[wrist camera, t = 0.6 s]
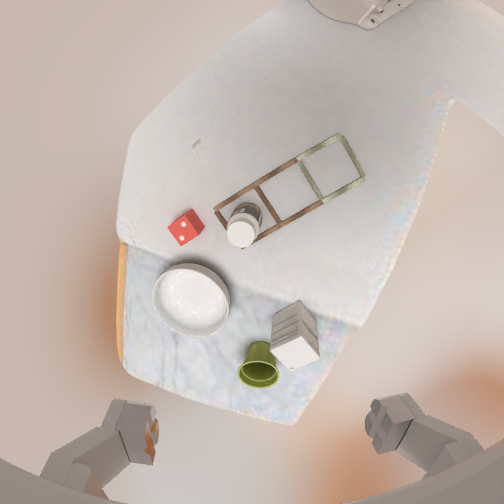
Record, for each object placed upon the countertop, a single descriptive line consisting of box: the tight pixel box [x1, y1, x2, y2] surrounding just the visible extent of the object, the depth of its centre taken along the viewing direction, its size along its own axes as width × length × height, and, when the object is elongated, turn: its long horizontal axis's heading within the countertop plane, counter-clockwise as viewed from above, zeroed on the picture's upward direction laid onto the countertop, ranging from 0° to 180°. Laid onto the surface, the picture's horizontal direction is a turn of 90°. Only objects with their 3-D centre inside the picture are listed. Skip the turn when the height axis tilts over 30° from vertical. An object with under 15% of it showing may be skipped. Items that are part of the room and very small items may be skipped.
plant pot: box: [238, 342, 279, 388], centre depth 67 cm, size 9×9×9 cm
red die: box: [167, 209, 205, 246], centre depth 57 cm, size 4×4×5 cm
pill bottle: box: [227, 203, 262, 248], centre depth 53 cm, size 6×6×10 cm
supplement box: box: [270, 300, 320, 372], centre depth 60 cm, size 7×7×13 cm
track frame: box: [213, 133, 366, 249], centre depth 54 cm, size 28×10×1 cm, turn 123°
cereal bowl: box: [152, 263, 231, 338], centre depth 63 cm, size 17×17×7 cm
